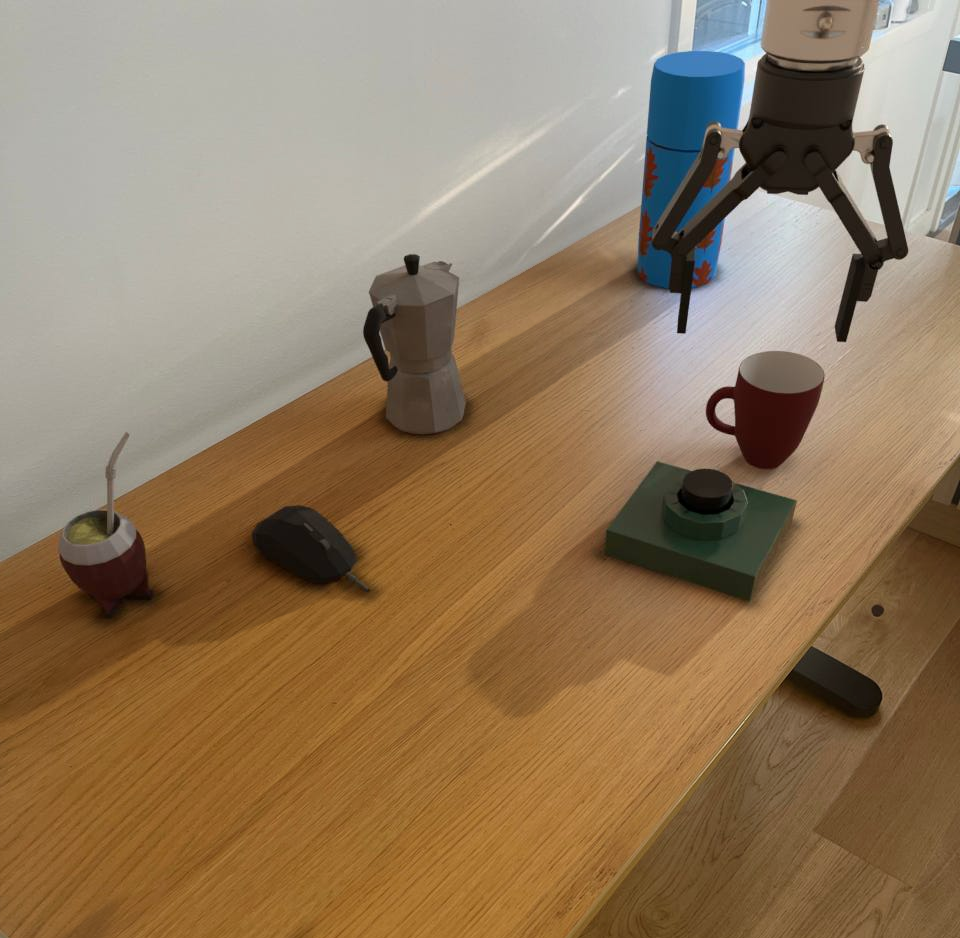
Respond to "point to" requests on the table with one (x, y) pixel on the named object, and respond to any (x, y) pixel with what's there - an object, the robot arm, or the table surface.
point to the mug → (770, 405)
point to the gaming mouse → (306, 545)
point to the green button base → (700, 533)
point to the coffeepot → (417, 345)
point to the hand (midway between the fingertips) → (759, 330)
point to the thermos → (686, 149)
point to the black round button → (706, 491)
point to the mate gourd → (106, 551)
